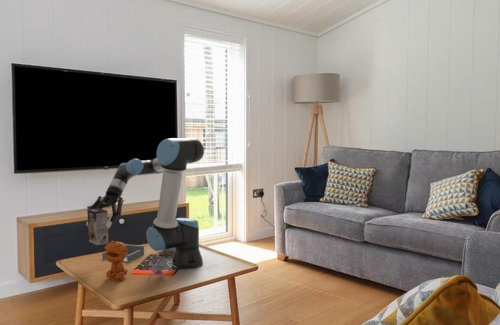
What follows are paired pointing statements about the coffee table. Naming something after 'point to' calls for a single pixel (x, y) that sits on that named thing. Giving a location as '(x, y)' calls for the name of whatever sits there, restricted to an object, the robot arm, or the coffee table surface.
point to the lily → (155, 270)
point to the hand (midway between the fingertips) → (97, 226)
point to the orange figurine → (116, 260)
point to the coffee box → (97, 226)
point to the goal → (131, 252)
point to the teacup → (170, 250)
